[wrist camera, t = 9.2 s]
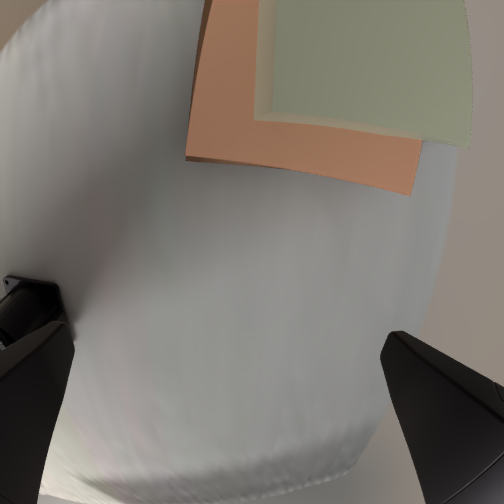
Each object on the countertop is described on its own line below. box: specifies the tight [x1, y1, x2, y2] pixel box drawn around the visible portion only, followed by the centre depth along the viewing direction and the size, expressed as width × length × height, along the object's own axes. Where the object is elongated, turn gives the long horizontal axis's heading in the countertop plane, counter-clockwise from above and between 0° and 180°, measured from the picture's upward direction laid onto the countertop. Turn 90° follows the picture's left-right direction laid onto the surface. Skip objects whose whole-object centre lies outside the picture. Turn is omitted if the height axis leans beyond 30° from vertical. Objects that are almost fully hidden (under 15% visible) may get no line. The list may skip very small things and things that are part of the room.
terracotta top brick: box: [185, 0, 423, 196], centre depth 12 cm, size 11×11×3 cm
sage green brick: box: [254, 0, 473, 149], centre depth 8 cm, size 6×7×6 cm
